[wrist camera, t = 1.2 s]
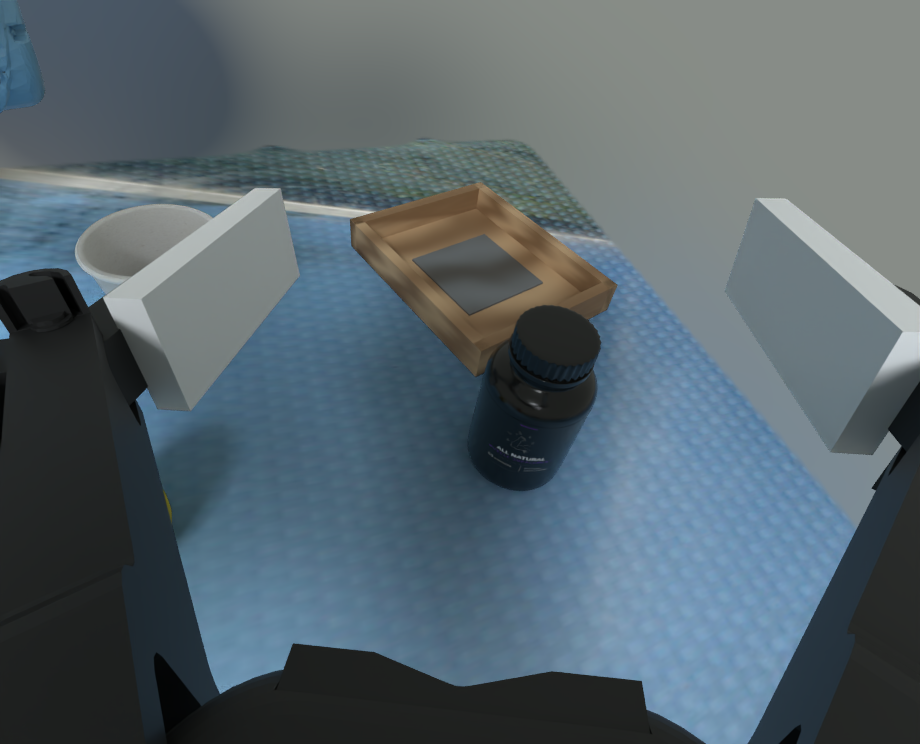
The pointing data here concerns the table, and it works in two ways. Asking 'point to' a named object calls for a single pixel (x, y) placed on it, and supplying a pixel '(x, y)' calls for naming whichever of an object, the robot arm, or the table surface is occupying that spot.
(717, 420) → the table surface
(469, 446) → the supplement bottle
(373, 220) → the tray
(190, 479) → the table surface
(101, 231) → the dixie cup
